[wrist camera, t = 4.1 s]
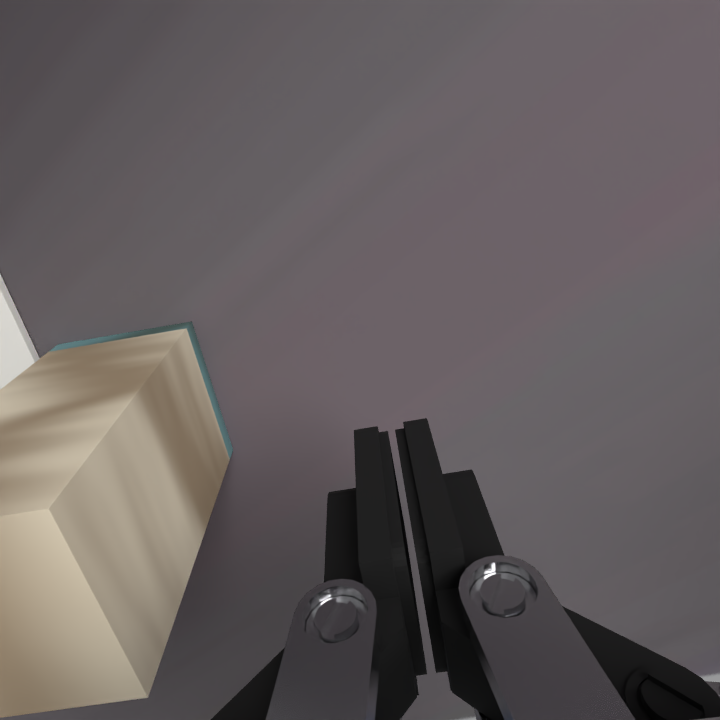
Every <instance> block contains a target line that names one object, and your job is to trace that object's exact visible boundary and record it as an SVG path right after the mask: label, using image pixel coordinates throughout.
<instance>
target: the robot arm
mask: <svg viewBox="0 0 720 720" xmlns="http://www.w3.org/2000/svg"><path fill="white" fill-rule="evenodd" d="M403 424H404V428H403V429H397V430H395V432H396V438H397V444H398V450H399V456H400V462H401V468H402V473H403V479H404V485H405V491H406V497H407V503H408V509H409V515H410V521H411V527H412V533H413V539H414V545H415V551H416V557H417V563H418V569H419V574H420V580H421V586H422V592H423V598H424V604H425V610H426V616H427V621H428V627H429V633H430V639H431V645H432V651H433V657H434V663H435V669H436V673H438V672H445V671H447V672H448V677H449V683H450V688H451V691H452V692H453V693H454V694H455V695H457V696H458V697H460V698H461V699H462V700H464V701H465V702H467V703H468V704H469V705H471V706H472V707H474V710H475V715H476V720H720V683H719V682H706V681H704V680H703V679H702V678H701V677H699V676H697V675H696V674H694V673H693V672H691V671H690V670H688V669H686V668H685V667H683V666H681V665H679V664H677V663H675V662H673V661H671V660H669V659H667V658H665V657H663V656H661V655H659V654H657V653H655V652H653V651H651V650H649V649H647V648H645V647H643V646H641V645H639V644H637V643H635V642H633V641H631V640H629V639H627V638H625V637H623V636H621V635H619V634H617V633H615V632H613V631H611V630H609V629H607V628H605V627H603V626H601V625H599V624H597V623H595V622H593V621H591V620H589V619H587V618H585V617H583V616H581V615H579V614H577V613H575V612H573V611H571V610H569V609H567V608H565V607H563V606H561V604H560V602H559V601H558V599H557V598H556V596H555V595H554V593H553V592H552V590H551V589H550V587H549V585H548V584H547V582H546V581H545V579H544V578H543V576H542V575H541V574H540V573H539V572H538V571H537V570H536V569H535V567H533V566H531V565H530V564H528V563H527V562H525V561H524V560H521V559H518V558H515V557H512V556H504V553H503V551H502V548H501V545H500V543H499V540H498V537H497V534H496V532H495V529H494V526H493V524H492V521H491V518H490V516H489V513H488V510H487V507H486V505H485V502H484V499H483V497H482V494H481V491H480V489H479V486H478V483H477V480H476V478H475V475H474V473H473V471H472V470H466V471H460V472H454V473H447V474H442V470H441V467H440V463H439V460H438V456H437V453H436V449H435V446H434V442H433V438H432V435H431V431H430V428H429V424H428V421H427V418H425V419H419V420H413V421H407V422H403ZM354 445H355V474H356V488H353V489H346V490H340V491H334V492H329V493H328V501H327V525H326V549H325V574H324V583H322V584H320V585H317V586H316V587H315V588H313V589H312V590H310V591H309V592H308V593H307V594H306V595H305V596H304V597H303V598H302V600H301V601H300V602H299V604H298V606H297V608H296V610H295V613H294V616H293V619H292V623H291V627H290V631H289V634H288V638H287V642H286V646H285V648H284V649H283V650H282V651H281V652H280V653H279V654H278V655H277V656H276V657H275V658H274V659H273V660H272V661H271V662H270V663H269V664H268V665H267V666H265V667H264V668H263V669H262V670H261V671H260V672H259V673H258V674H257V675H256V676H255V677H254V678H253V679H252V680H251V681H250V682H249V683H248V684H247V685H246V686H245V687H244V688H243V689H242V690H241V691H240V692H239V693H238V694H237V695H236V696H235V697H234V698H233V699H232V700H231V701H230V702H228V703H227V704H226V705H225V706H224V707H223V708H222V709H221V710H220V711H219V712H218V713H217V714H216V715H215V716H214V717H213V718H212V719H211V720H402V716H403V715H404V713H405V712H406V711H407V710H408V708H409V707H410V706H411V704H412V703H413V702H414V700H415V699H416V698H417V695H419V694H418V686H417V679H416V676H417V675H424V674H427V671H426V664H425V657H424V651H423V644H422V638H421V631H420V624H419V618H418V611H417V605H416V598H415V591H414V585H413V578H412V572H411V565H410V558H409V552H408V545H407V539H406V532H405V526H404V520H403V515H402V509H401V503H400V498H399V492H398V486H397V481H396V475H395V469H394V464H393V458H392V453H391V447H390V441H389V436H388V431H385V432H379V431H378V427H377V426H376V427H370V428H364V429H358V430H354Z"/></svg>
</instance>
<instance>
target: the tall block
mask: <svg viewBox="0 0 720 720" xmlns="http://www.w3.org/2000/svg"><path fill="white" fill-rule="evenodd" d="M232 452H233V448H232V445H231V442H230V439H229V436H228V432H227V429H226V426H225V423H224V420H223V417H222V414H221V411H220V408H219V405H218V401H217V398H216V395H215V392H214V389H213V386H212V383H211V380H210V377H209V374H208V371H207V367H206V364H205V361H204V358H203V355H202V352H201V349H200V346H199V343H198V340H197V336H196V333H195V330H194V327H193V324H192V322H187V323H181V324H175V325H169V326H163V327H157V328H152V329H146V330H140V331H134V332H128V333H122V334H117V335H111V336H105V337H99V338H93V339H87V340H82V341H76V342H70V343H64V344H58V345H57V346H55V347H54V348H53V349H52V350H50V351H49V352H48V353H46V354H45V355H44V356H43V357H41V358H40V359H39V360H38V361H36V362H35V363H34V364H32V365H31V366H30V367H29V368H27V369H26V370H25V371H23V372H22V373H21V374H20V375H18V376H17V377H16V378H14V379H13V380H12V381H11V382H9V383H8V384H7V385H6V386H4V387H3V388H2V389H0V718H1V717H9V716H16V715H23V714H31V713H38V712H46V711H53V710H60V709H68V708H75V707H82V706H90V705H97V704H104V703H112V702H119V701H126V700H134V699H141V698H148V696H149V693H150V691H151V688H152V685H153V682H154V679H155V676H156V673H157V670H158V667H159V664H160V661H161V658H162V656H163V653H164V650H165V647H166V644H167V641H168V638H169V635H170V632H171V629H172V626H173V624H174V621H175V618H176V615H177V612H178V609H179V606H180V603H181V600H182V597H183V594H184V591H185V589H186V586H187V583H188V580H189V577H190V574H191V571H192V568H193V565H194V562H195V559H196V556H197V554H198V551H199V548H200V545H201V542H202V539H203V536H204V533H205V530H206V527H207V524H208V522H209V519H210V516H211V513H212V510H213V507H214V504H215V501H216V498H217V495H218V492H219V489H220V487H221V484H222V481H223V478H224V475H225V472H226V469H227V466H228V463H229V460H230V457H231V454H232Z"/></svg>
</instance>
